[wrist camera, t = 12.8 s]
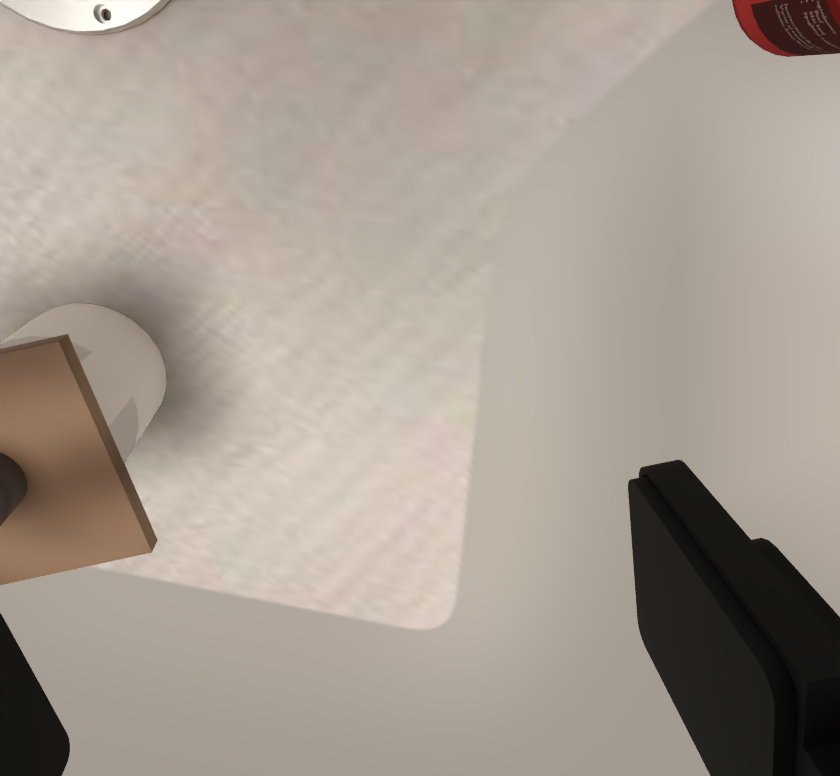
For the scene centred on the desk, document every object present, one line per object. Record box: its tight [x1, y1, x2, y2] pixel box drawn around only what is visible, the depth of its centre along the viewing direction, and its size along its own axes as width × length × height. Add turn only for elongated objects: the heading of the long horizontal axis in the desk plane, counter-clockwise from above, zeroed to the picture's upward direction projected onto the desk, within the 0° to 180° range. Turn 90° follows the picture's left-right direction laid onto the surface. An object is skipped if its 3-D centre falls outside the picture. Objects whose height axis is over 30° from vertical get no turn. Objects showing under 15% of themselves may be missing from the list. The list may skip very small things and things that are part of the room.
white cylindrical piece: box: [0, 303, 167, 462], centre depth 38 cm, size 9×9×12 cm
